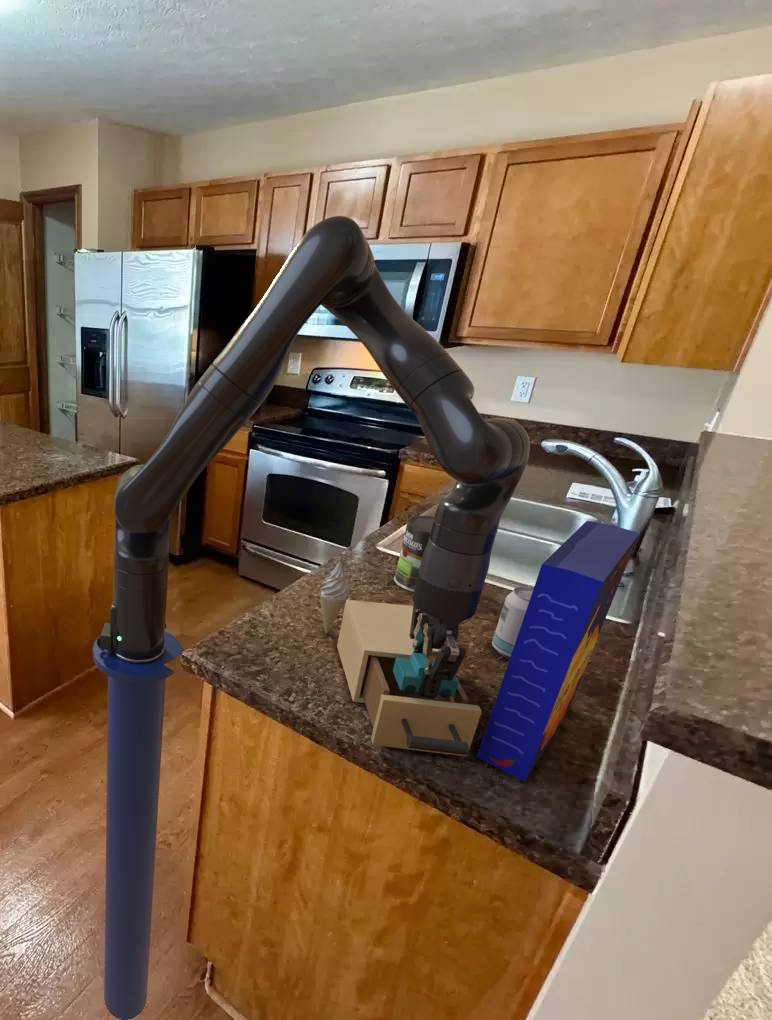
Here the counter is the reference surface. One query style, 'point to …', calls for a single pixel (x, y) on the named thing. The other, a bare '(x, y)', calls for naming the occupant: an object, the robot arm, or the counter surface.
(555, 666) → the cereal box
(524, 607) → the beverage can
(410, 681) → the toy car
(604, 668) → the counter surface
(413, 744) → the drawer
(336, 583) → the ice cream cone
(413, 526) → the coffee can
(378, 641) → the cabinet
